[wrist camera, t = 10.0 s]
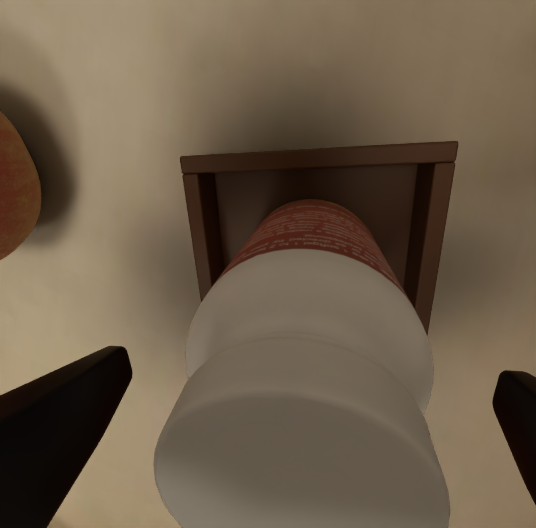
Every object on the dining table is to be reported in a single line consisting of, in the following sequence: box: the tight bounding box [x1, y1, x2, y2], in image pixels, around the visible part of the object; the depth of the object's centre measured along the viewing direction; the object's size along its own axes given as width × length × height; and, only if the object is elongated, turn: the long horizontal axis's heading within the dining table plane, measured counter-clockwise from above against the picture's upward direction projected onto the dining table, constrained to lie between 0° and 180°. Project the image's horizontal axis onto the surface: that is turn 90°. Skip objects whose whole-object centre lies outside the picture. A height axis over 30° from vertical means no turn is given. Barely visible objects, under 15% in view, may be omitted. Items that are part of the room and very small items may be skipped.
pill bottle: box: [154, 199, 450, 528], centre depth 10 cm, size 6×6×11 cm
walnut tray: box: [180, 141, 458, 335], centre depth 17 cm, size 26×10×3 cm, turn 3°
